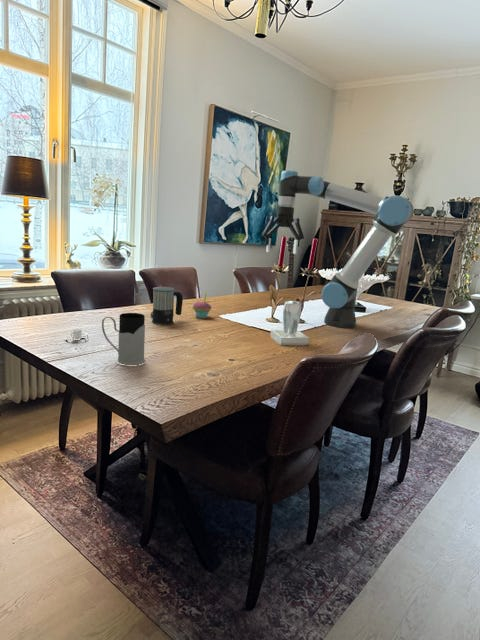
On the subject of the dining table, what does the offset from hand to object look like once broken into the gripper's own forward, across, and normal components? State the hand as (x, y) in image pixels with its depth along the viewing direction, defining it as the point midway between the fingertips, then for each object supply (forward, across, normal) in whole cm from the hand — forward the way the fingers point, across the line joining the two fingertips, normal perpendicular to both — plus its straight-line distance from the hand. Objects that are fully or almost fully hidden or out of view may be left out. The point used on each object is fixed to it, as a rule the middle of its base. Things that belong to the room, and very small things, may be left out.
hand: (281, 253), depth 203 cm
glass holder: (+32, +73, +57) cm, 98 cm away
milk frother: (+32, +56, +4) cm, 64 cm away
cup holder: (+32, +8, +37) cm, 49 cm away
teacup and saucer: (+32, +85, +34) cm, 97 cm away
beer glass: (+31, +8, +37) cm, 49 cm away
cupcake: (+32, +36, -2) cm, 48 cm away
